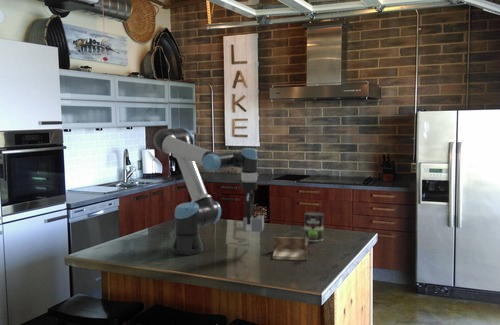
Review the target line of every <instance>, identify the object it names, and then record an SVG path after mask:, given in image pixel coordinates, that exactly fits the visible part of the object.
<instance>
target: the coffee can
mask: <svg viewBox="0 0 500 325" xmlns="http://www.w3.org/2000/svg"><path fill="white" fill-rule="evenodd" d="M324 214H325V213H323V212H320V211H307V212H305V213H304V237H303V238H309V242H313V243H314V242H315V243H316V242H323V240H324Z"/></svg>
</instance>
